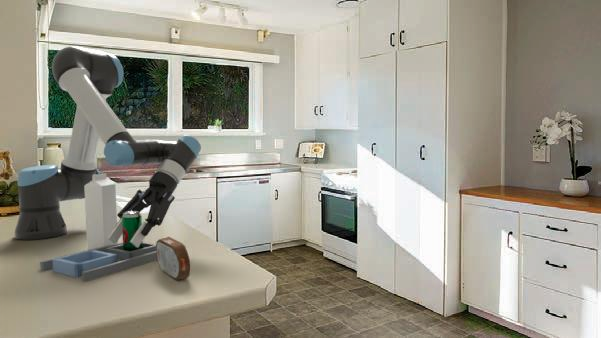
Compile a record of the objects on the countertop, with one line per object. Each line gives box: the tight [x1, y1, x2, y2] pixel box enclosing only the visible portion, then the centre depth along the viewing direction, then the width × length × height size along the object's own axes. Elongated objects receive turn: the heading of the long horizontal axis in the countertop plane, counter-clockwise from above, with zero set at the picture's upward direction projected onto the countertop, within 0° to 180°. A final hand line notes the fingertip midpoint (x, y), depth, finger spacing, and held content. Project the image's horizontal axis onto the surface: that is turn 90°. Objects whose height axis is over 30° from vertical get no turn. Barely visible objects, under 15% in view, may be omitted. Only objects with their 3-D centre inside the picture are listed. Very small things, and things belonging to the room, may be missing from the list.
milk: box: [84, 173, 119, 251], centre depth 128 cm, size 6×6×22 cm
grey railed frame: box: [39, 241, 157, 282], centre depth 114 cm, size 18×26×3 cm
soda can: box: [122, 211, 144, 251], centre depth 119 cm, size 5×5×12 cm
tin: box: [155, 236, 191, 281], centre depth 102 cm, size 15×3×8 cm, turn 38°
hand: (122, 242), depth 117 cm, fingers open, 9 cm apart
